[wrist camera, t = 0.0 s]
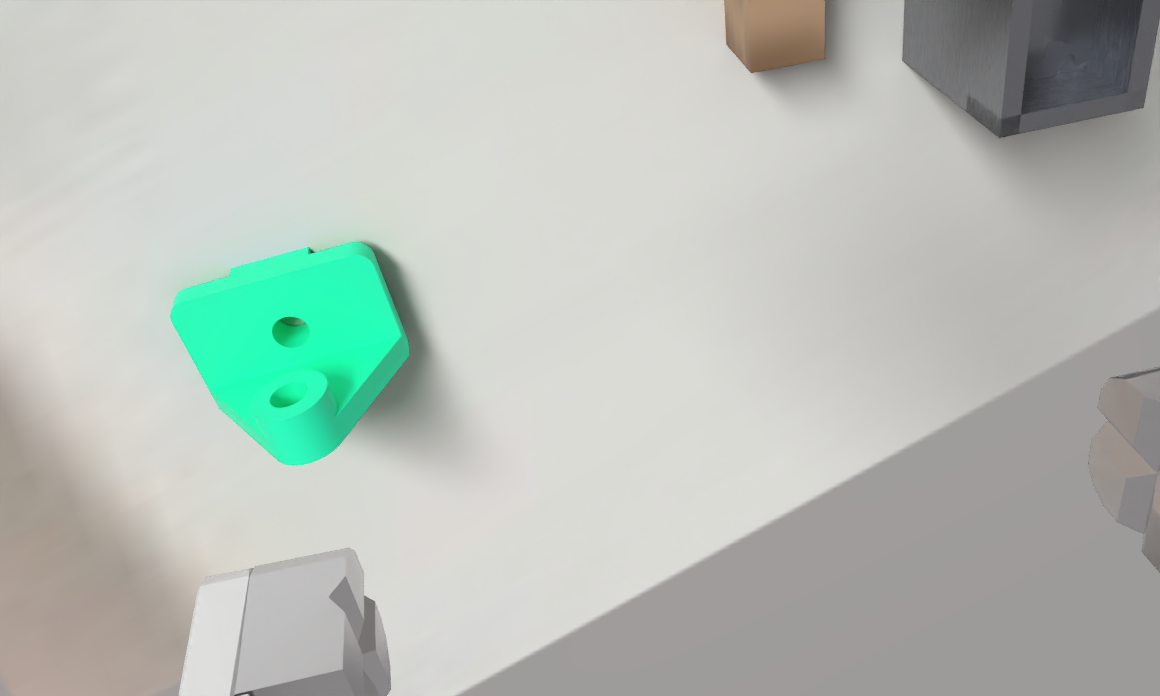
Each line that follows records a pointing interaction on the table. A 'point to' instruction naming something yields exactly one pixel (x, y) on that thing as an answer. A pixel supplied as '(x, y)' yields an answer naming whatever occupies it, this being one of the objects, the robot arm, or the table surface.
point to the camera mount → (295, 346)
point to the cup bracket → (1034, 57)
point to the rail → (775, 32)
